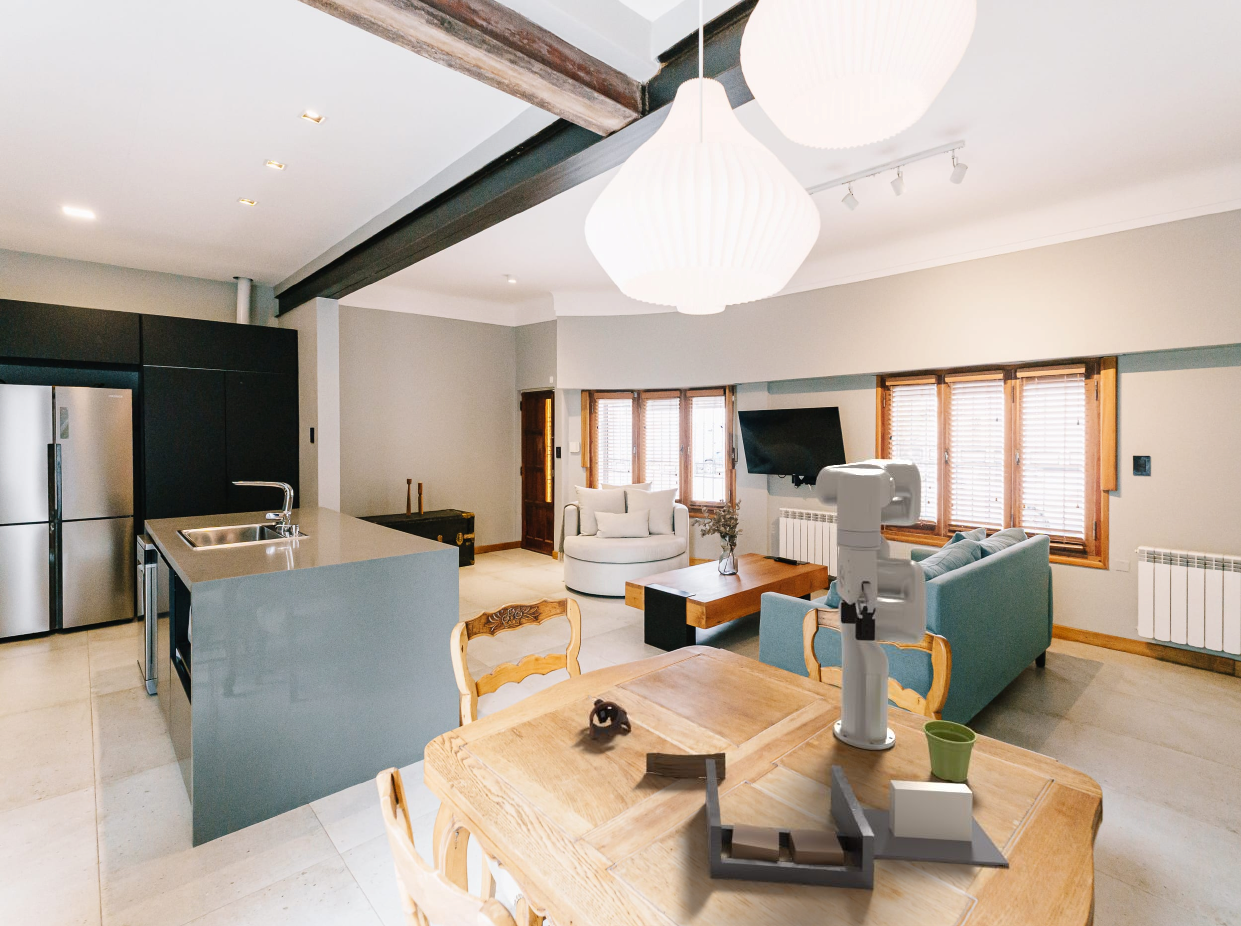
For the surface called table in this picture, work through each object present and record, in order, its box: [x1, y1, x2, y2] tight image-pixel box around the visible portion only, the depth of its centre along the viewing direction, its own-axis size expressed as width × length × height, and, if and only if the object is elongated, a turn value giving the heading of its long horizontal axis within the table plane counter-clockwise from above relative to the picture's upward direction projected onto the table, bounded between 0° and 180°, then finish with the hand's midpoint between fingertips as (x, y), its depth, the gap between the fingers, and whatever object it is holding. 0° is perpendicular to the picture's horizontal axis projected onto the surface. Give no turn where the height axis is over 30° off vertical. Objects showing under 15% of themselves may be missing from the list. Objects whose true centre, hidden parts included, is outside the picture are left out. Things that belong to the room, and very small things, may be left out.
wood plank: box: [645, 752, 727, 779], centre depth 118 cm, size 15×2×5 cm, turn 88°
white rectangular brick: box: [889, 779, 973, 841], centre depth 100 cm, size 2×12×8 cm, turn 84°
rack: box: [705, 759, 875, 890], centre depth 99 cm, size 19×24×8 cm
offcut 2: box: [788, 828, 845, 866], centre depth 93 cm, size 5×7×4 cm
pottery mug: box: [588, 698, 632, 741], centre depth 136 cm, size 12×10×8 cm
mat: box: [861, 808, 1010, 867], centre depth 100 cm, size 12×20×1 cm, turn 84°
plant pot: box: [922, 719, 978, 783], centre depth 119 cm, size 9×9×9 cm
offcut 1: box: [731, 822, 780, 862], centre depth 95 cm, size 5×7×4 cm
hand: (857, 631), depth 112 cm, fingers open, 9 cm apart
